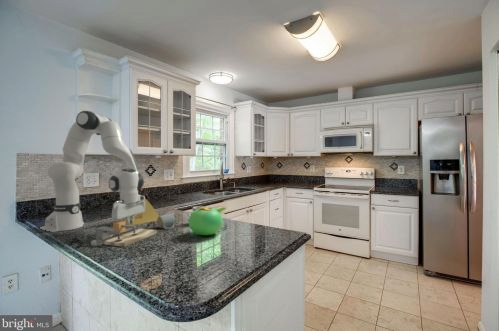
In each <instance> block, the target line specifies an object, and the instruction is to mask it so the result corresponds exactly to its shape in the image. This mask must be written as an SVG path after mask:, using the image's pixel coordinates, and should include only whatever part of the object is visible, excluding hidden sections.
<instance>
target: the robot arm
mask: <svg viewBox="0 0 499 331" xmlns="http://www.w3.org/2000/svg"><path fill="white" fill-rule="evenodd" d="M93 135H97V136H100V138H101V145H102V148H103V150H104V151H105V152H106V153H107V154H109V155H110V156H114V157H117V158H119V159H121V160H123V161H124V162H125V164H126V168H121V170H120V171H119V173H117V174H114V175H112V176H110V177H109V180H108V188H109V189H110V190H111V191H112V192H114V193H115V192H116V193H119V200H116V201H114V202H113V204H112V210H111V218H112V220H122V219H123V220H124V219H125V220H126V224H127V225H129V224H133V220H134V217H135V216H137V214H140V213H143V212H145V201H144V200H145V199H146V197H145V195H141V194H139V191H140V190H141V189H142V188H143V187H144V184H145V179H144V177H143V176H142V174H141V172H140V169H139V167H138V164H137V160H136V159H135V155H134V153H133V151H132V150H131V148H129V147H128V145H127V144H126V142H125V141H124V136H123V132H122V129H121V127H120V125H119V124H118V122H117V121H115V120H112V119H111V118H108V117H106V116H104V115H103V114H102V115H101V114H99V113H95V112H94V111H90V110H82V111H80V112H79V113H78V114H77V115H76V118H75V122H73V124H72V125H71V127H70V128H69V130H68V133H67V135H66V138H65V141H64V143H63V147H62V153H63V158H62V161H58V162H54V163H53V164H51V165H50V166H49V167H48V169H47V175H48V176H49V178H50V179H51V181H52V184H53V188H54V191H55V192H54V193H55V205H54V206H52V208H53V211H52V212H51V213H50V214H49V215H48V216H47V217H45V221H44V225H43V226H41V227H39V230H41V229H42V230H41V231H45V230H46V232H49V231H50V232H49V233H56V232H64V231H71V230H75V229H80V228H82V227H84V225H85V222H84V221H83V220H84V219H83V215H82V211H81V210H80V209H81V202H80V189H79V188H78V186H77V182H76V180H77V179H79V178H80V177H81V176H82V175H83V174H84V170H85V169H84V162H85V156H86V152H87V149H88V146H89V143H90V140H91V137H92V136H93ZM129 218H130V220H129Z"/></svg>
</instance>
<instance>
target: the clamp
mask: <svg viewBox="0 0 499 331" xmlns="http://www.w3.org/2000/svg"><path fill="white" fill-rule="evenodd" d="M144 201H145V212H143V213H140V214H136V215H135V217H134V220H133V224H129V225H132V226H137V225H141V224H145V223H151V222H157V219H158V217H159V216H160V215H159V213H158V212H157V211H156V209H155V208H154V207H153V205H152V204H151V203H150V202H149V200H148V199H146V198H145V200H144ZM129 220H130V218H129ZM123 221H124V222H125V225H127V224H126V220H125V219H124V218H123Z"/></svg>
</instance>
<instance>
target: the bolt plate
mask: <svg viewBox="0 0 499 331" xmlns="http://www.w3.org/2000/svg"><path fill="white" fill-rule="evenodd" d="M157 233H158V230H157V229H147V228H146V229H145V228H138V229H136V230H135V233H133V231H131V232H128V233H125V234H122V235H120V239H118V236H117V237H114V238H111V239H109V240H106V241H104V243H103V245H108V246H114V247H115V246H116V247H124V248H125V247H127V246H130V245H133V244H134V243H136V242H140V241H141V240H144V239H146V238H149V237H150V236H153V235H155V234H157Z"/></svg>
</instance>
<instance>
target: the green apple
mask: <svg viewBox="0 0 499 331" xmlns="http://www.w3.org/2000/svg"><path fill="white" fill-rule="evenodd" d="M226 209H227V207H226V206H222V207H217V208H211V207H207V208H204V207H200V209H197V210H195V211H194V212H193V211H192V212H193V213H192V214H191V213H190V215H189V218H188V226H189V228H190V230H191V231H192V232H194V233H195V234H197V235H199V236H211V235H215V234H216V233H217V232H219V231H220V230H221V228H222V226H223V222H224V221H223V220H224V219H223V216H222V215H221V212H223V211H225V210H226Z"/></svg>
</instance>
